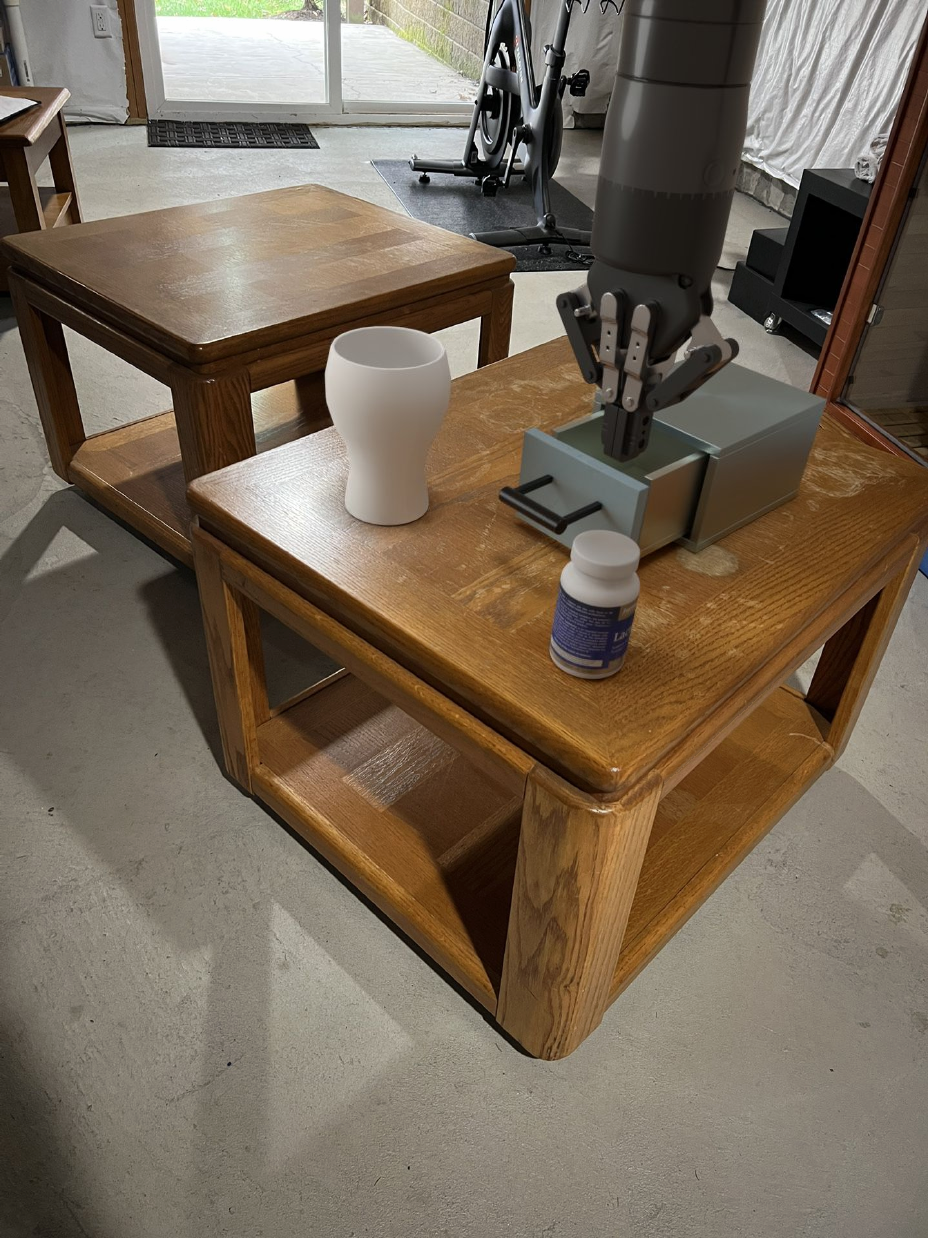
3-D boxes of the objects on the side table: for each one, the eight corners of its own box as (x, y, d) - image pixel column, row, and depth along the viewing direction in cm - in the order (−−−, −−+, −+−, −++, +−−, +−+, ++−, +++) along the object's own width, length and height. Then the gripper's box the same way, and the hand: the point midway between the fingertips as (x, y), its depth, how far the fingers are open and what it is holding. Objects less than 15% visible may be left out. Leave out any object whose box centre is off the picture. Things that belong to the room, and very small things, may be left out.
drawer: (575, 604, 74) (591, 513, 69) (468, 536, 81) (475, 448, 76) (730, 520, 86) (753, 437, 81) (625, 466, 93) (640, 387, 88)
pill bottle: (622, 688, 68) (647, 575, 62) (544, 675, 68) (561, 562, 62) (625, 640, 72) (648, 530, 66) (552, 628, 73) (568, 519, 67)
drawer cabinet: (695, 553, 83) (721, 448, 77) (579, 490, 91) (595, 390, 84) (796, 496, 92) (827, 399, 86) (684, 444, 100) (705, 351, 94)
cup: (426, 471, 92) (432, 320, 83) (458, 527, 84) (469, 367, 75) (319, 481, 89) (313, 326, 80) (341, 541, 81) (337, 376, 72)
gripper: (810, 188, 50) (737, 478, 60) (621, 144, 57) (585, 407, 68) (726, 205, 45) (664, 514, 56) (535, 155, 53) (511, 434, 64)
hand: (621, 455), depth 62 cm, fingers closed
